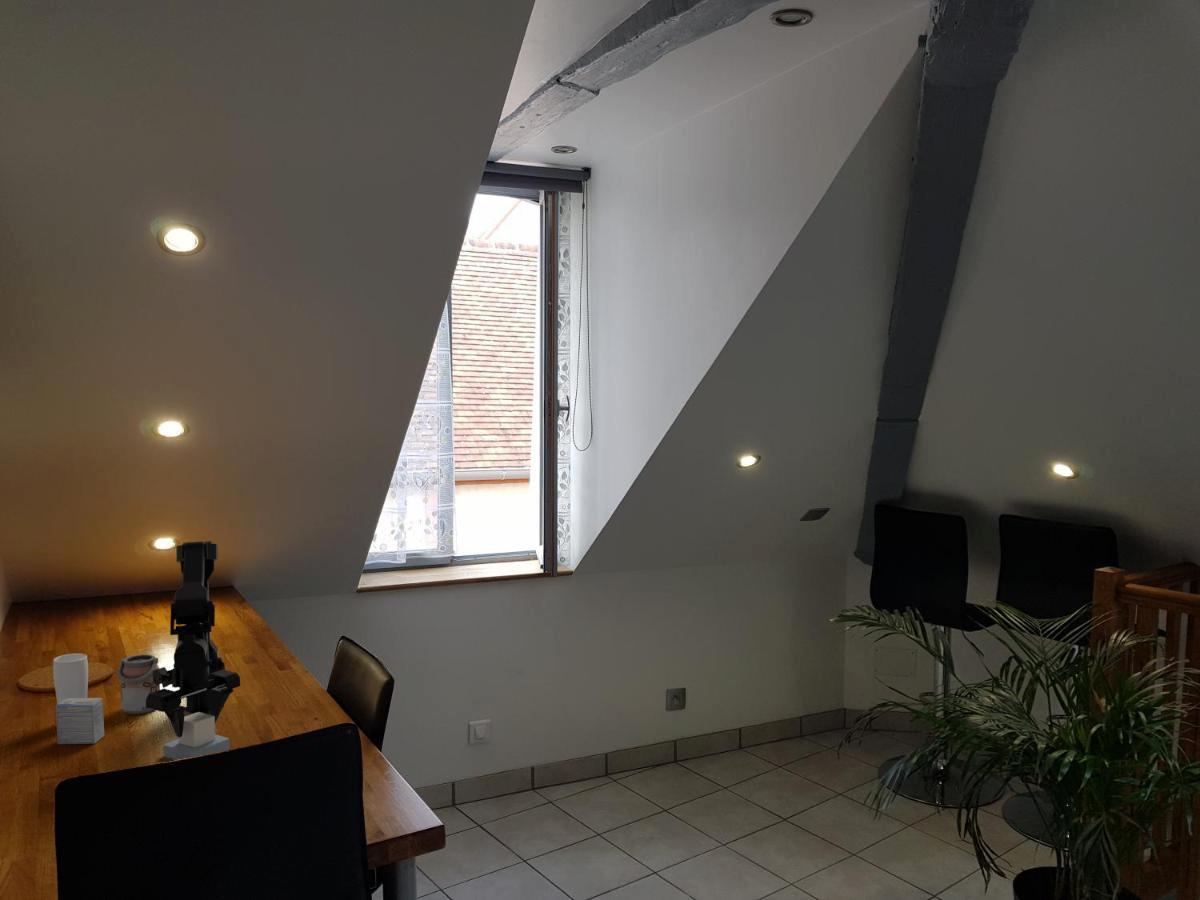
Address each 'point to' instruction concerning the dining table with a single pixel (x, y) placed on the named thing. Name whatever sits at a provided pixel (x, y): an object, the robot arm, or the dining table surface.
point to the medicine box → (80, 721)
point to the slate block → (184, 751)
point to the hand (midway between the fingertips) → (196, 730)
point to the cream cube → (198, 729)
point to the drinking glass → (70, 676)
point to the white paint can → (137, 682)
